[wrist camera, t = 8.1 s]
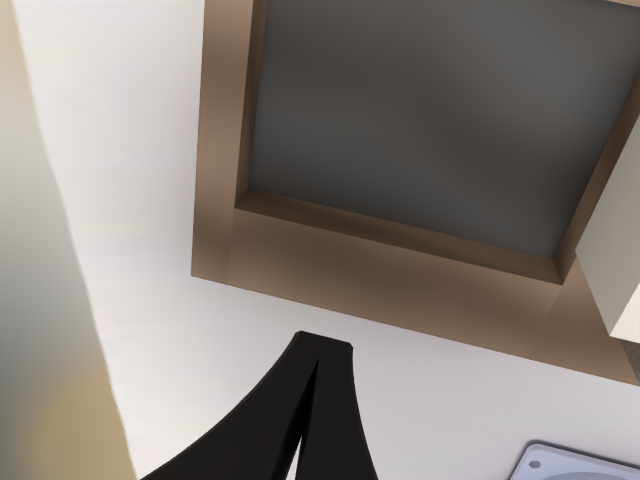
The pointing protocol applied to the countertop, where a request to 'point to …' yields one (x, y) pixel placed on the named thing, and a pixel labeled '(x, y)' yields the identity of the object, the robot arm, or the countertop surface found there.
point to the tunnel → (633, 356)
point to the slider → (616, 245)
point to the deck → (418, 162)
